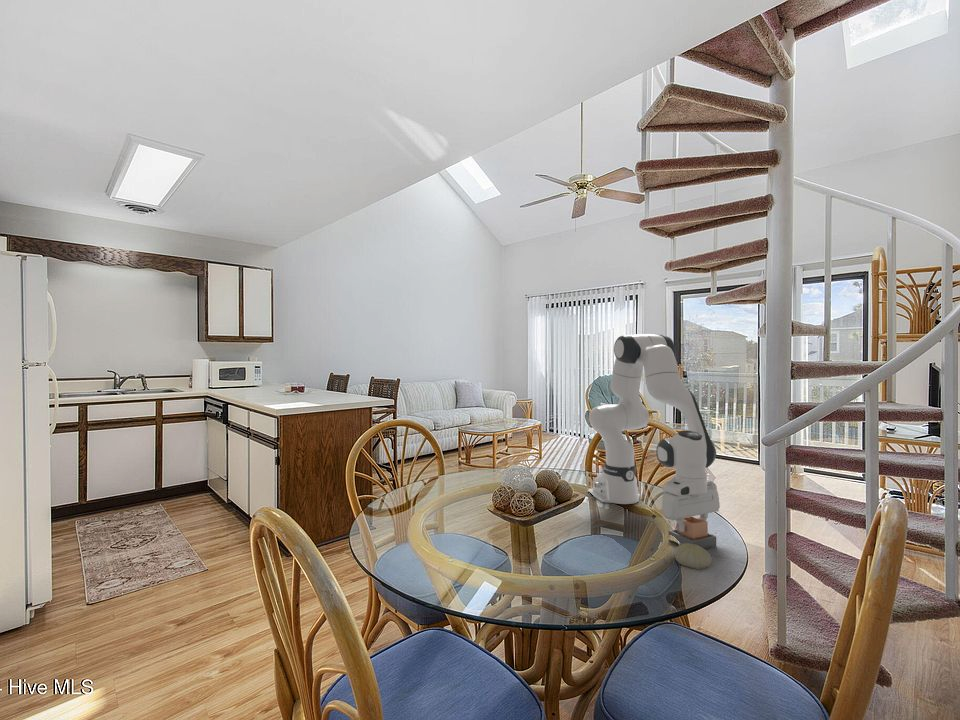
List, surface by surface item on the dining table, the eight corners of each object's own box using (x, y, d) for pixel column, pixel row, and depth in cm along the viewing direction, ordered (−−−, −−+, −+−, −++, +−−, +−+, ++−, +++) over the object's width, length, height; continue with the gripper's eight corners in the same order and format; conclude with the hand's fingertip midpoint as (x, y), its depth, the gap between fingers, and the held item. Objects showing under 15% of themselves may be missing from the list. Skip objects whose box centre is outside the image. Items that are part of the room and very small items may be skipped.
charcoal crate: (668, 539, 139) (668, 530, 139) (691, 535, 143) (691, 525, 143) (693, 551, 130) (692, 541, 130) (716, 546, 134) (716, 536, 134)
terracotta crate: (677, 534, 138) (677, 518, 138) (691, 531, 140) (691, 515, 140) (693, 541, 133) (692, 524, 133) (707, 538, 135) (707, 521, 135)
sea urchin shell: (699, 568, 116) (680, 539, 121) (681, 580, 121) (664, 552, 126) (721, 560, 121) (702, 532, 126) (703, 572, 125) (685, 545, 130)
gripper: (707, 478, 143) (708, 520, 143) (658, 485, 136) (659, 530, 136) (724, 483, 137) (725, 527, 137) (673, 491, 130) (674, 538, 130)
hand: (692, 529), depth 137 cm, fingers closed on terracotta crate, 6 cm apart
